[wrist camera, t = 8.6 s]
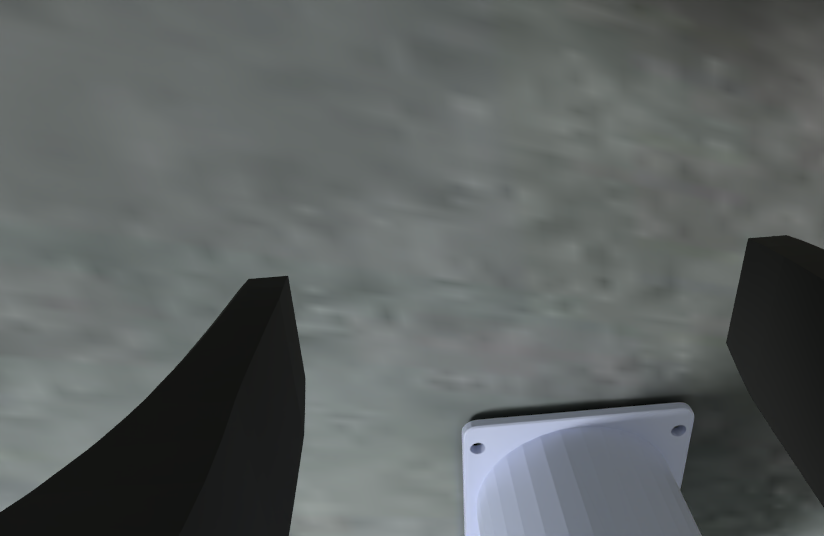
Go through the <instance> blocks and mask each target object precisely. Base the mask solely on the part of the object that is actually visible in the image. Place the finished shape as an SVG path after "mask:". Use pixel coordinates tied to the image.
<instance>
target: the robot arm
mask: <svg viewBox="0 0 824 536" xmlns="http://www.w3.org/2000/svg"><path fill="white" fill-rule="evenodd" d="M726 344H727V346H728V348H729V351H730V353H731V355H732V357H733V360H734V362H735V364H736V367H737V369H738V371H739V373H740V375H741V377H742V379H743V381H744V384H745V386H746V388H747V390H748V392H749V394H750V396H751V397H752V399H753V401H754V402H755V404H756V405H757V407H758V409H759V410H760V412H761V413H762V415H763V416H764V418H765V419H766V421H767V422H768V424H769V426H770V427H771V429H772V430H773V432H774V433H775V435H776V436H777V438H778V439H779V441H780V442H781V444H782V445H783V447H784V448H785V450H786V451H787V453H788V454H789V456H790V457H791V459H792V460H793V462H794V463H795V465H796V466H797V468H798V469H799V471H800V472H801V474H802V475H803V477H804V478H805V480H806V481H807V483H808V484H809V486H810V487H811V489H812V490H813V492H814V493H815V495H816V496H817V498H818V499H819V501H820V502H821V504H822V505H823V507H824V249H821V248H819V247H817V246H814V245H812V244H809V243H807V242H804V241H802V240H799V239H796V238H793V237H790V236H787V235H785V236H772V237H760V238H748V242H747V246H746V251H745V256H744V261H743V265H742V270H741V275H740V280H739V284H738V289H737V294H736V299H735V303H734V308H733V313H732V318H731V322H730V327H729V332H728V337H727V341H726ZM304 421H305V373H304V367H303V361H302V356H301V350H300V344H299V338H298V332H297V326H296V320H295V314H294V308H293V302H292V296H291V291H290V285H289V279H288V276H280V277H268V278H256V279H248V280H247V281H246V283H245V284H244V285H243V286H242V287H241V288H240V290H239V291H238V292H237V293H236V295H235V296H234V297H233V298H232V300H231V301H230V302H229V304H228V305H227V306H226V307H225V309H224V310H223V311H222V313H221V314H220V315H219V316H218V318H217V319H216V320H215V321H214V323H213V324H212V325H211V326H210V328H209V329H208V330H207V331H206V333H205V334H204V335H203V336H202V337H201V338H200V340H199V341H198V342H197V343H196V344H195V346H194V347H193V348H192V349H191V350H190V351H189V353H188V354H187V355H186V356H185V357H184V359H183V360H182V361H181V362H180V363H179V364H178V365H177V366H176V367H175V369H174V370H173V371H172V372H171V373H170V374H169V375H168V376H167V377H166V378H165V379H164V380H163V381H162V382H161V383H160V384H159V385H158V386H157V388H156V389H155V390H154V391H153V392H152V393H151V394H150V395H149V396H148V397H147V398H146V399H145V400H144V401H143V402H142V403H141V404H140V405H139V406H138V407H137V408H135V409H134V410H133V411H132V412H131V413H130V414H129V415H128V416H127V417H126V418H125V419H123V420H122V421H121V422H120V423H119V424H118V425H116V426H115V427H114V428H113V429H112V430H111V431H109V432H108V433H107V434H106V435H105V436H104V437H103V438H101V439H100V440H99V441H98V442H97V443H95V444H94V445H93V446H92V447H90V448H89V449H88V450H87V451H85V452H84V453H83V454H81V455H80V456H79V457H77V458H76V459H75V460H73V461H72V462H71V463H69V464H68V465H67V466H65V467H64V468H63V469H61V470H60V471H58V472H57V473H56V474H54V475H53V476H52V477H50V478H49V479H48V480H46V481H45V482H44V483H42V484H41V485H40V486H38V487H37V488H36V489H34V490H33V491H31V492H30V493H29V494H27V495H26V496H24V497H23V498H21V499H20V500H18V501H17V502H15V503H14V504H12V505H11V506H9V507H8V508H6V509H5V510H3V511H2V512H0V536H289V531H290V524H291V518H292V511H293V505H294V499H295V492H296V486H297V479H298V472H299V466H300V459H301V452H302V445H303V438H304ZM693 423H694V413H693V411H692V409H691V407H690V406H689V405H688V404H686V403H683V402H676V403H664V404H653V405H641V406H630V407H618V408H607V409H595V410H584V411H572V412H561V413H549V414H538V415H526V416H515V417H503V418H492V419H480V420H473V421H470V422H468V423H467V424H465V426H464V427H463V429H462V459H463V496H464V533H465V536H702V535H701V533H700V531H699V529H698V526H697V524H696V522H695V520H694V518H693V516H692V514H691V512H690V510H689V508H688V506H687V503H686V501H685V499H684V497H683V495H682V493H681V491H680V489H681V484H682V479H683V474H684V469H685V464H686V459H687V453H688V448H689V443H690V438H691V433H692V428H693ZM678 425H680V426H678ZM675 426H678V427H677V428H674V427H675ZM475 443H481V444H480V445H477V446H474V445H473V444H475Z"/></svg>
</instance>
